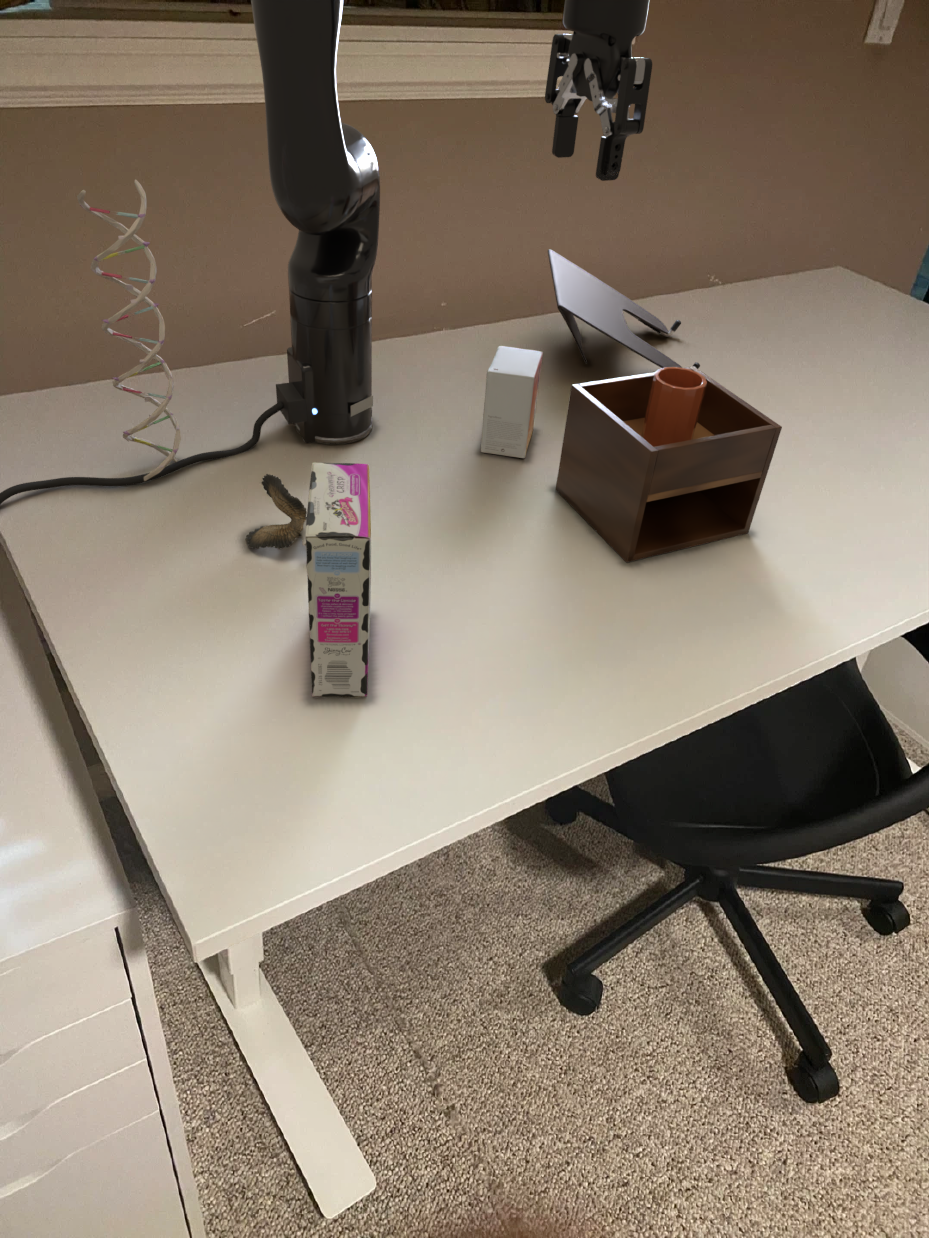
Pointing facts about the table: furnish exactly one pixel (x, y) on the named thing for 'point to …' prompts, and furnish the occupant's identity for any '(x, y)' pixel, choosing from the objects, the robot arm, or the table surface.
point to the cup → (673, 406)
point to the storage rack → (662, 468)
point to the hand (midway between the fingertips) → (583, 167)
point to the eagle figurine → (285, 532)
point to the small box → (510, 401)
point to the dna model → (134, 303)
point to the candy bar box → (339, 578)
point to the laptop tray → (603, 310)
